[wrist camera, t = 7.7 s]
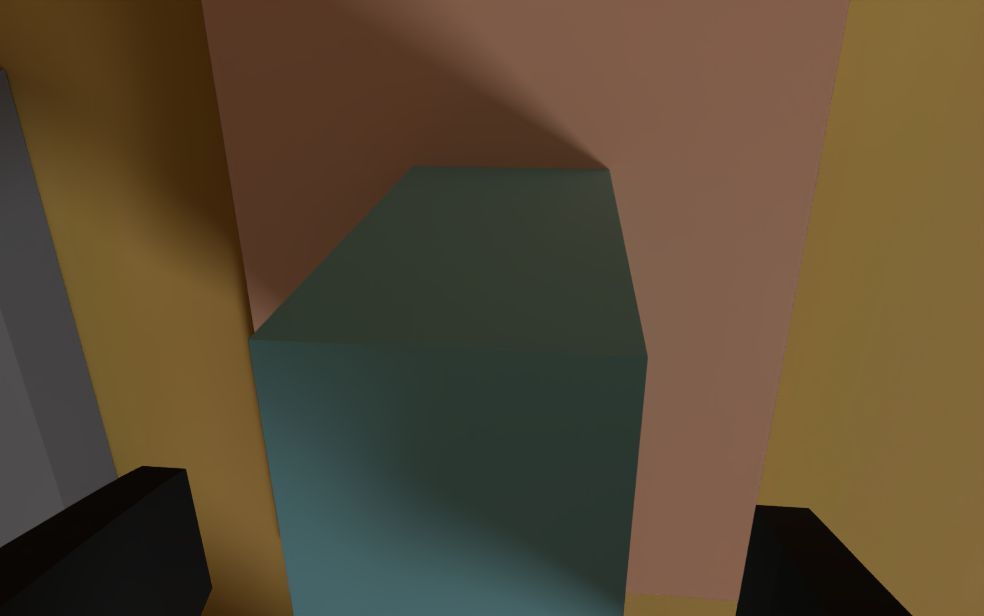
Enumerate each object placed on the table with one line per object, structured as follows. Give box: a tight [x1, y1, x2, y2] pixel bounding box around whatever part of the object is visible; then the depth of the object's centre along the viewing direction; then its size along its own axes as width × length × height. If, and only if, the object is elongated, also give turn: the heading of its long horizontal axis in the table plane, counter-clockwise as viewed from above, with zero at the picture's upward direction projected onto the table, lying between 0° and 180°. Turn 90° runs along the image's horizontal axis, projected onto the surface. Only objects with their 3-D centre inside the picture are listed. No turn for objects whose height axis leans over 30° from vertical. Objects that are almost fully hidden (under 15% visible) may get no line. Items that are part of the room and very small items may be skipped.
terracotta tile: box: [201, 0, 850, 601], centre depth 16 cm, size 16×12×1 cm
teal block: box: [248, 166, 648, 616], centre depth 12 cm, size 6×4×8 cm, turn 1°
